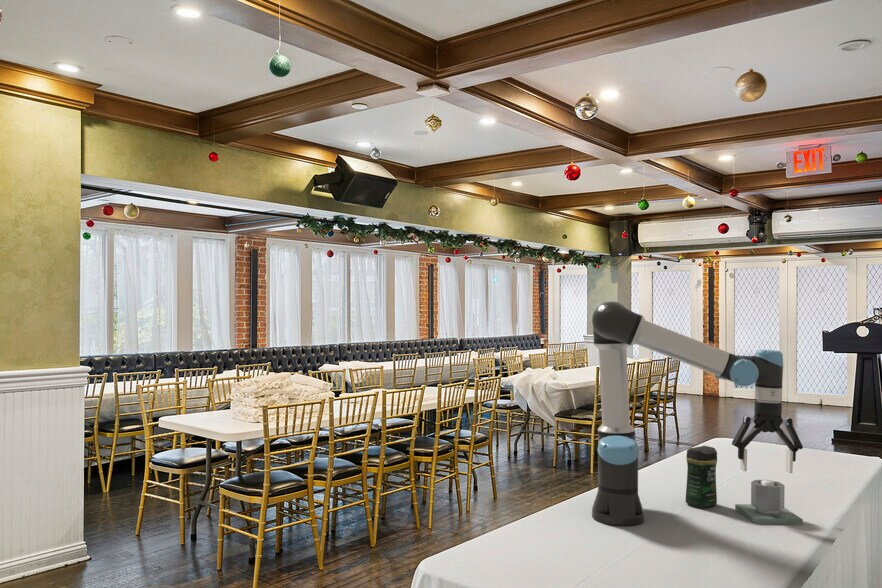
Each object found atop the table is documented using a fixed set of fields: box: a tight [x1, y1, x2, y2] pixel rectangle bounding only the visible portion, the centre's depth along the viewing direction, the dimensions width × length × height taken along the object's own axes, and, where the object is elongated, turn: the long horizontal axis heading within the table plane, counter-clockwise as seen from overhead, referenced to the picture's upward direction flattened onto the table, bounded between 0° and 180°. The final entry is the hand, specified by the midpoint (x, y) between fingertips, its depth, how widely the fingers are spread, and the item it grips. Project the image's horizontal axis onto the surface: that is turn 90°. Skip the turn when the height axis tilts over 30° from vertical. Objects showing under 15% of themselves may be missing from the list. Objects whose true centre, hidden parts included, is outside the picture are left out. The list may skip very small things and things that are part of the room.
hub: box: [750, 479, 785, 511], centre depth 206 cm, size 8×8×7 cm
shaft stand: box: [734, 479, 804, 525], centre depth 206 cm, size 14×14×10 cm
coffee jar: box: [685, 445, 718, 509], centre depth 217 cm, size 10×8×19 cm
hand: (766, 471), depth 206 cm, fingers open, 13 cm apart
